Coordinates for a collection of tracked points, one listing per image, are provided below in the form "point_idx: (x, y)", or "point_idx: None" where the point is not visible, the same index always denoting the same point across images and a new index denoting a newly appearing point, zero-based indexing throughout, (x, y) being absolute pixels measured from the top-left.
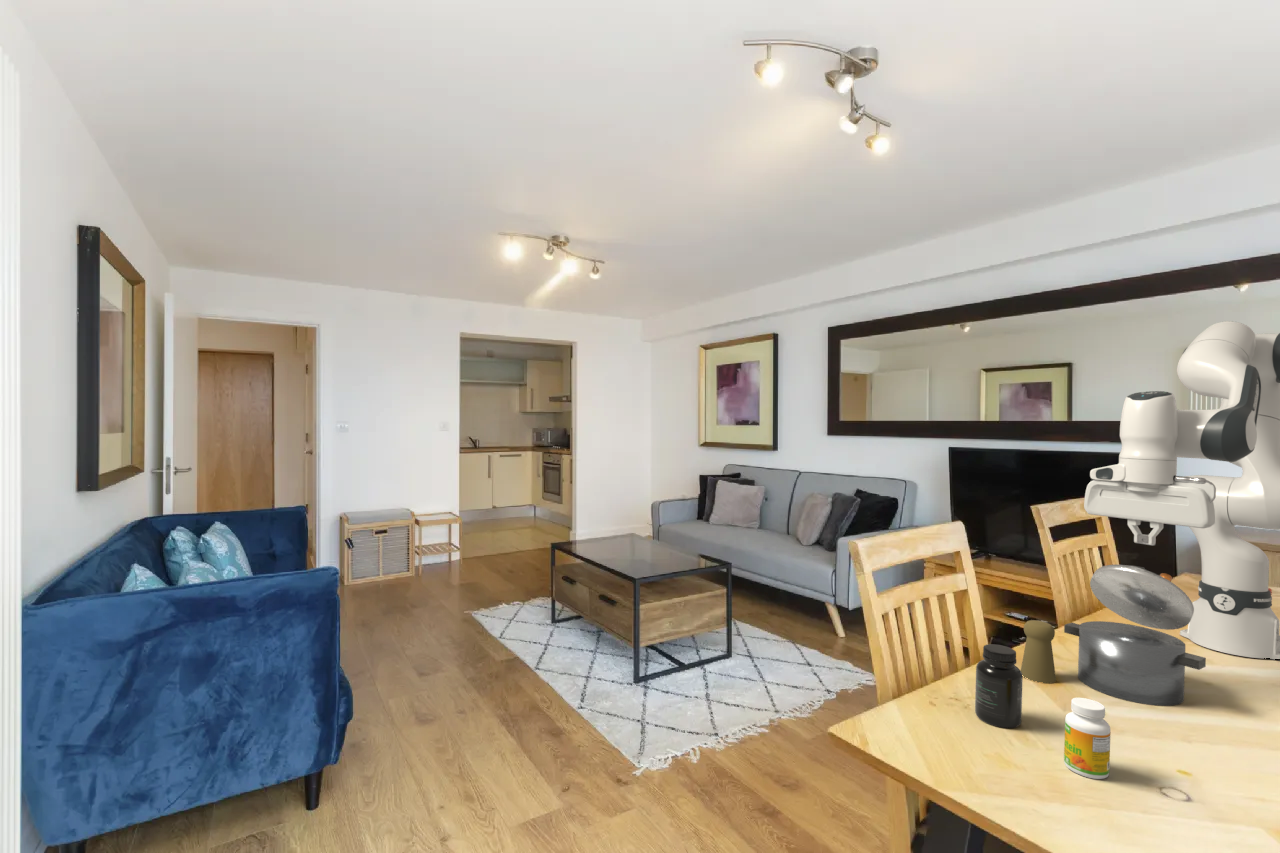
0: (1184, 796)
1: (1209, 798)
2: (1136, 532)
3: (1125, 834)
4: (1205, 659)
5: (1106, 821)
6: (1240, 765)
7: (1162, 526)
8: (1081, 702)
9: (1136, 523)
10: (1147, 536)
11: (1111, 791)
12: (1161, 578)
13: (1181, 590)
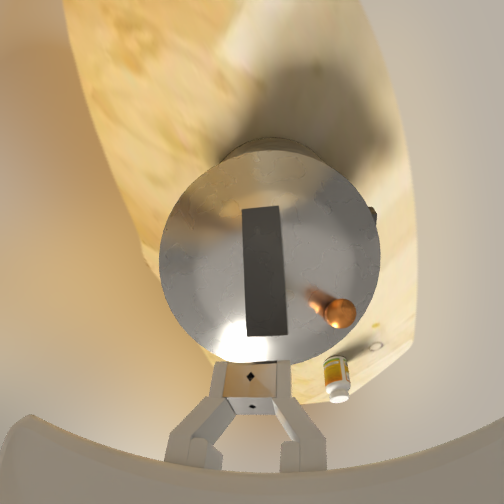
0: (380, 345)
1: (390, 337)
2: (229, 422)
3: (365, 380)
4: (375, 212)
5: (357, 380)
6: (402, 286)
7: (325, 450)
8: (336, 400)
9: (219, 460)
10: (274, 412)
11: (352, 366)
12: (341, 338)
13: (372, 294)
